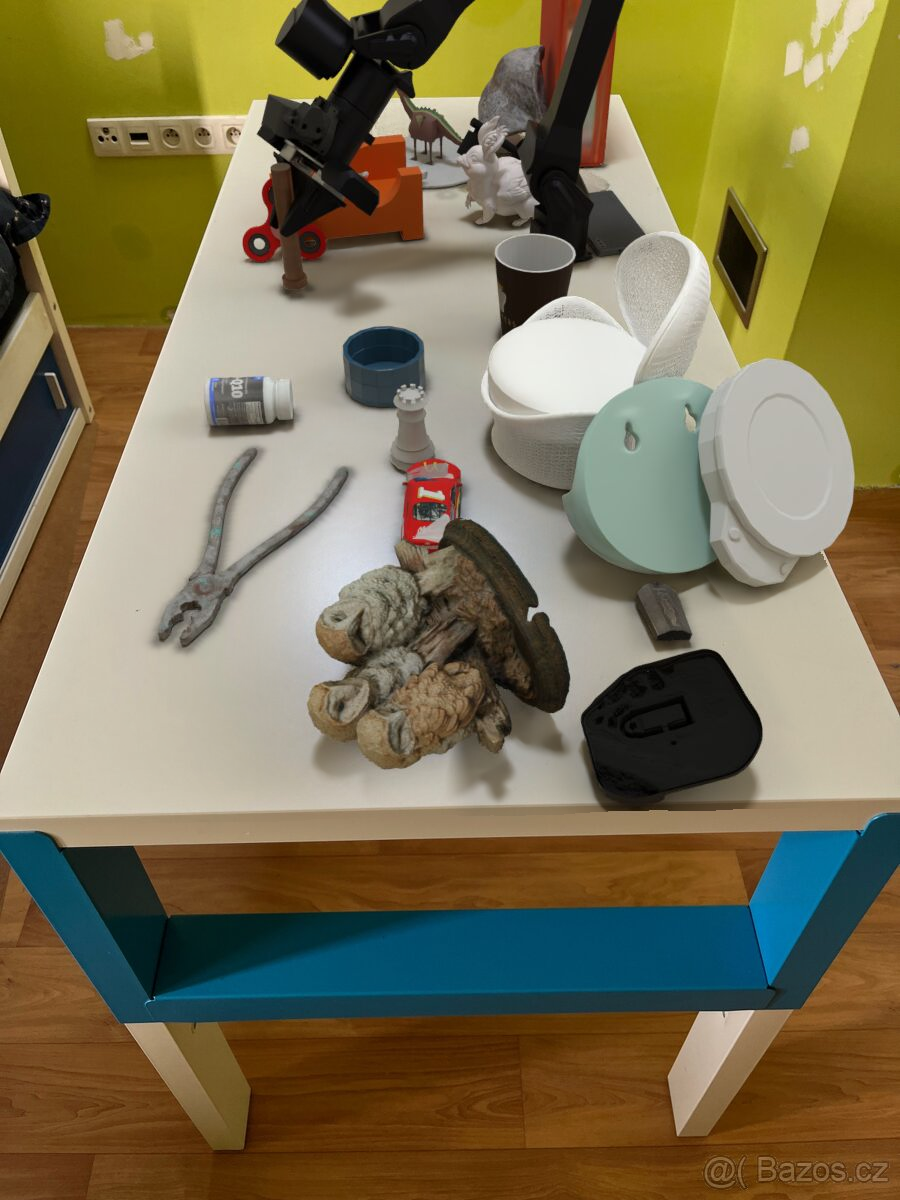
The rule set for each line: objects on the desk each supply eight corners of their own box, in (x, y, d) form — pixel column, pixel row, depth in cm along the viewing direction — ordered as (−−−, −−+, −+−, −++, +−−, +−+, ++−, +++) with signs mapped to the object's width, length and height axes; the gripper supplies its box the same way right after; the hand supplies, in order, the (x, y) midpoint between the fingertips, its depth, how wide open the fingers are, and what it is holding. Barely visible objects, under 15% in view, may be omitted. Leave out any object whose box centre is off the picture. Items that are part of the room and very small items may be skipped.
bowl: (404, 355, 110) (403, 318, 106) (438, 394, 105) (437, 357, 101) (334, 374, 107) (330, 338, 104) (365, 415, 102) (362, 378, 99)
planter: (729, 541, 94) (683, 374, 92) (783, 536, 87) (735, 355, 85) (565, 604, 87) (512, 423, 85) (611, 603, 80) (554, 407, 78)
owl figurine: (596, 667, 65) (367, 787, 60) (570, 742, 75) (371, 851, 70) (457, 481, 73) (244, 572, 68) (449, 571, 83) (263, 657, 78)
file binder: (548, 167, 143) (566, -98, 120) (533, 121, 155) (547, -128, 132) (603, 166, 144) (631, -99, 121) (585, 120, 156) (607, -129, 132)
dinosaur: (342, 168, 143) (335, 88, 136) (415, 128, 154) (413, 51, 146) (443, 199, 136) (442, 116, 128) (513, 154, 147) (516, 76, 139)
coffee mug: (563, 360, 109) (570, 276, 102) (486, 352, 110) (488, 268, 103) (575, 306, 117) (583, 225, 110) (503, 299, 118) (506, 218, 111)
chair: (480, 380, 106) (484, 196, 91) (666, 383, 105) (700, 198, 91) (478, 502, 92) (482, 308, 78) (692, 506, 92) (736, 311, 77)
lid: (665, 533, 79) (692, 527, 76) (718, 330, 85) (746, 318, 83) (800, 623, 87) (830, 620, 84) (840, 431, 93) (869, 422, 90)
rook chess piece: (442, 451, 98) (441, 383, 92) (426, 479, 95) (425, 409, 89) (400, 442, 99) (396, 374, 93) (383, 469, 96) (378, 400, 90)
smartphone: (560, 202, 135) (598, 256, 125) (561, 195, 134) (599, 250, 125) (611, 195, 136) (652, 249, 126) (612, 189, 135) (653, 242, 126)
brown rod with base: (302, 275, 120) (288, 159, 110) (311, 286, 118) (298, 169, 108) (279, 281, 119) (262, 164, 109) (288, 292, 118) (272, 174, 107)
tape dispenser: (404, 196, 137) (401, 134, 131) (423, 238, 128) (422, 173, 122) (274, 210, 134) (265, 147, 128) (285, 253, 126) (276, 188, 120)
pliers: (250, 450, 98) (114, 627, 82) (249, 444, 98) (111, 620, 81) (351, 472, 96) (232, 658, 79) (350, 465, 95) (230, 651, 79)
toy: (245, 261, 125) (244, 263, 124) (234, 177, 119) (233, 179, 119) (328, 258, 125) (327, 260, 124) (320, 174, 120) (320, 175, 119)
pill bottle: (205, 368, 99) (290, 366, 100) (213, 407, 103) (294, 404, 103) (201, 396, 96) (288, 393, 97) (209, 435, 100) (293, 432, 100)
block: (653, 648, 80) (656, 633, 78) (630, 596, 84) (633, 580, 82) (696, 642, 80) (700, 627, 79) (671, 590, 84) (675, 575, 83)
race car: (408, 474, 95) (406, 440, 93) (464, 475, 95) (464, 442, 92) (395, 569, 86) (392, 535, 83) (457, 571, 86) (457, 537, 83)
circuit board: (462, 139, 147) (460, 148, 148) (512, 158, 146) (510, 167, 147) (481, 116, 151) (479, 124, 152) (529, 134, 151) (527, 142, 152)
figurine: (449, 209, 134) (449, 111, 125) (553, 195, 137) (560, 98, 128) (466, 236, 129) (467, 135, 120) (574, 221, 132) (583, 122, 122)
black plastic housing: (777, 762, 66) (776, 788, 70) (729, 639, 72) (730, 670, 76) (604, 808, 68) (612, 831, 72) (569, 684, 73) (579, 712, 77)
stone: (618, 176, 136) (617, 190, 138) (548, 145, 144) (548, 158, 145) (576, 197, 133) (576, 212, 135) (508, 165, 141) (508, 178, 142)
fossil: (454, 139, 148) (511, 171, 151) (479, 138, 135) (541, 172, 139) (499, 35, 144) (556, 70, 147) (529, 24, 131) (591, 62, 135)
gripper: (260, 39, 109) (187, 165, 112) (347, 90, 98) (263, 227, 102) (329, 99, 117) (259, 214, 121) (416, 152, 107) (336, 276, 110)
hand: (277, 231), depth 113 cm, fingers closed on brown rod with base, 2 cm apart
